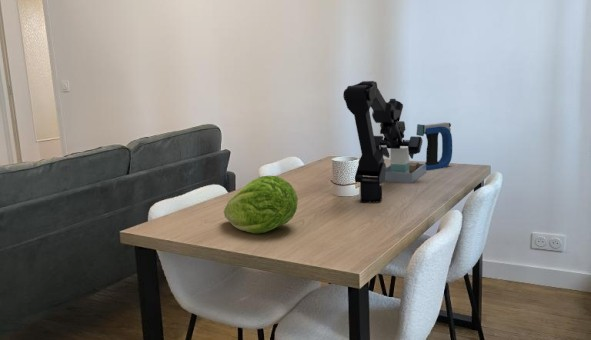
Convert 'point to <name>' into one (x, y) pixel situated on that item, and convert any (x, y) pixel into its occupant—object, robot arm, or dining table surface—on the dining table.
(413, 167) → the walnut block
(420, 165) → the tote
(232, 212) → the lettuce
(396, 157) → the carton
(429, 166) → the handheld scanner
